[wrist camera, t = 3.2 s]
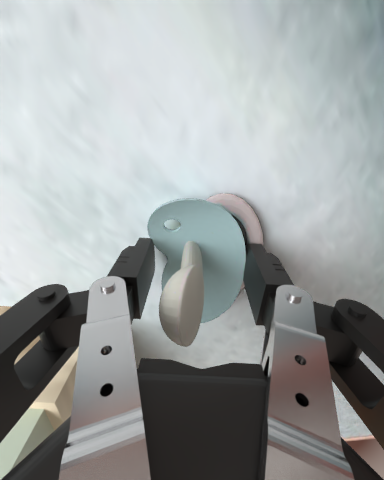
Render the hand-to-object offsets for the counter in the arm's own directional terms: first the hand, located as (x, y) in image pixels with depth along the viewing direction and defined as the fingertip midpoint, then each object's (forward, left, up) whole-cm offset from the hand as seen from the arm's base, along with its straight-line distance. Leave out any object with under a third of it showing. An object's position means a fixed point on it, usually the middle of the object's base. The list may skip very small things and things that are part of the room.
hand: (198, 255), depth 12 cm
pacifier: (-1, 0, -1) cm, 1 cm away
